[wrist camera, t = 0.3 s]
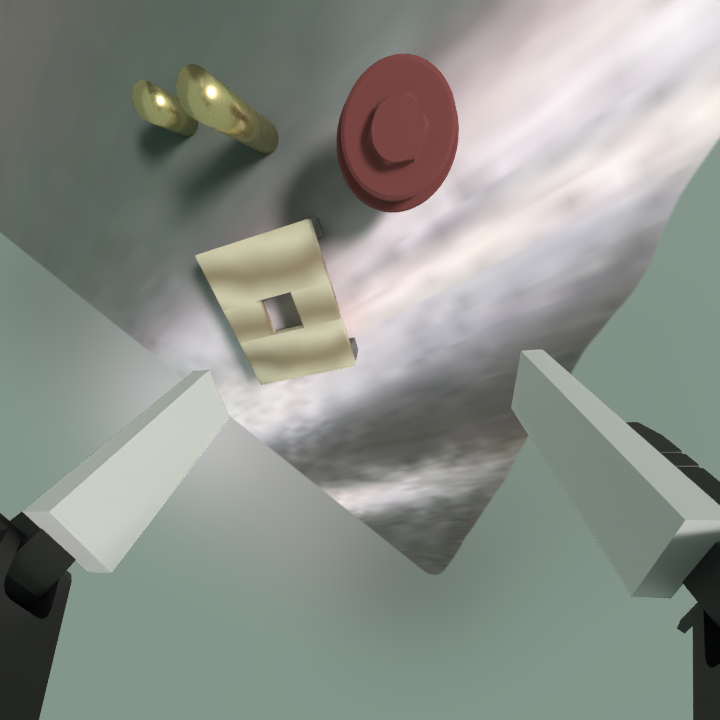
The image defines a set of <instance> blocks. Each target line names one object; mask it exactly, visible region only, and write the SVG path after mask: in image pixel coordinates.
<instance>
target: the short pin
mask: <svg viewBox="0 0 720 720" xmlns="http://www.w3.org/2000/svg"><path fill="white" fill-rule="evenodd" d="M132 98H133V103H134V106H135V108H136V110H137V112H138V113H139V114H140V116H141V117H142V118H143V119H145V120H146V121H148V122H150V123H153V124H155V125H158V126H160V127H163V128H165V129H168V130H170V131H173V132H175V133H178V134H181V135H183V136H186V137H189V136H192V135H193V134H195V132H196V130H197V126H198V121H197V120H195V119H193V118H192V117H190V116H189V115H188V114H187V113H186V112H185V110H184V109H183V107H182V106H181V104H180V101H179V99H178V98H177V97H175V96H174V95H172V94H170V93H168V92H167V91H165V90H163V89H161V88H159V87H158V86H156V85H154V84H152V83H151V82H149V81H145V80H141V81H138V82H137V83H136V84H135V85H134V88H133V92H132Z"/></svg>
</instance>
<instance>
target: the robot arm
mask: <svg viewBox="0 0 720 720" xmlns="http://www.w3.org/2000/svg"><path fill="white" fill-rule="evenodd" d="M511 408H512V410H513V412H514V413H515V415H516V416H517V418H518V419H519V421H520V423H521V424H522V426H523V427H524V429H525V430H526V432H527V434H528V435H529V437H530V438H531V440H532V441H533V443H534V444H535V446H536V448H537V449H538V451H539V452H540V454H541V455H542V457H543V459H544V460H545V462H546V463H547V465H548V466H549V468H550V470H551V471H552V473H553V474H554V476H555V477H556V479H557V481H558V482H559V484H560V485H561V487H562V488H563V490H564V492H565V493H566V495H567V496H568V498H569V499H570V501H571V502H572V504H573V506H574V507H575V509H576V510H577V512H578V514H579V515H580V517H581V518H582V520H583V521H584V523H585V525H586V526H587V528H588V529H589V531H590V532H591V534H592V536H593V537H594V539H595V540H596V542H597V543H598V545H599V546H600V548H601V550H602V551H603V552H604V554H605V556H606V557H607V559H608V561H609V562H610V564H611V565H612V567H613V568H614V570H615V571H616V573H617V575H618V576H619V578H620V579H621V581H622V583H623V584H624V586H625V587H626V589H627V590H628V592H629V594H630V595H631V596H634V597H654V598H655V597H656V598H672V596H673V595H674V594H675V593H676V592H677V591H678V589H679V588H680V587H681V586H682V585H683V584H684V585H685V586H686V588H687V589H688V590H689V591H690V593H691V594H692V595H693V596H694V597H695V599H696V600H697V601H698V603H697V604H695V606H694V607H693V608H692V609H691V610H690V611H689V612H688V613H687V614H686V615H685V616H684V617H683V618H682V619H681V620H680V623H679V625H678V628H677V629H679V630H680V631H682V632H683V633H686V632H687V631H688V629H690V628H691V627H692V626H693V717H694V718H693V720H720V482H719V481H718V480H717V479H716V478H714V477H713V476H712V475H711V474H710V473H708V472H707V471H706V470H705V469H703V468H699V466H698V464H697V463H696V462H695V461H693V460H692V459H691V458H690V457H688V456H687V455H686V454H682V451H681V450H680V449H679V448H677V447H676V446H675V445H674V444H672V443H671V442H670V441H669V440H667V439H666V438H665V437H664V436H662V435H661V434H659V433H657V432H655V431H653V430H651V429H649V428H648V427H646V426H644V425H642V424H640V423H638V422H629V423H625V422H624V421H623V420H622V419H621V418H620V417H619V416H617V415H616V414H615V413H614V412H613V411H612V410H611V409H609V408H608V407H607V406H606V405H605V404H604V403H603V402H601V401H600V400H599V399H598V398H597V397H596V396H595V395H594V394H592V393H591V392H590V391H589V390H588V389H587V388H586V387H584V386H583V385H582V384H581V383H580V382H579V381H578V380H577V379H575V378H574V377H573V376H572V375H571V374H570V373H569V372H567V371H566V370H565V369H564V368H563V367H562V366H561V365H559V364H558V363H557V362H556V361H555V360H554V359H553V358H551V357H550V356H549V355H548V354H547V353H546V352H545V351H544V350H528V351H521V355H520V361H519V366H518V372H517V378H516V383H515V389H514V395H513V401H512V406H511ZM228 420H229V415H228V413H227V411H226V408H225V406H224V404H223V401H222V399H221V397H220V394H219V392H218V390H217V387H216V385H215V383H214V380H213V378H212V376H211V373H210V371H209V370H203V371H193V372H192V373H191V374H189V375H188V376H187V377H186V378H185V379H183V380H182V381H181V382H180V383H179V384H177V385H176V386H175V387H174V388H172V389H171V390H170V391H169V392H168V393H166V394H165V395H164V396H163V397H161V398H160V399H159V400H158V401H156V402H155V403H154V404H153V405H152V406H150V407H149V408H148V409H147V410H146V411H144V412H143V413H142V414H141V415H139V416H138V417H137V418H136V419H134V420H133V421H132V422H131V423H130V424H128V425H127V426H126V427H125V428H123V429H122V430H121V431H120V432H119V433H117V434H116V435H115V436H114V437H113V438H111V439H110V440H109V441H108V442H106V443H105V444H104V445H103V446H102V447H100V448H99V449H98V450H96V451H95V452H94V453H93V454H92V455H90V456H89V457H88V458H87V459H86V460H84V461H83V462H82V463H81V464H79V465H78V466H77V467H76V468H74V469H73V470H72V471H71V472H70V473H69V474H67V475H66V476H65V477H63V478H62V479H61V480H60V481H59V482H57V483H56V484H55V485H54V486H53V487H51V488H50V489H49V490H48V491H46V492H45V493H44V494H43V495H41V496H40V497H39V498H38V499H37V500H35V501H34V502H33V503H32V504H30V505H29V506H28V507H27V508H26V509H24V510H23V511H22V512H21V513H20V514H18V515H17V516H16V517H14V518H13V519H12V520H11V521H9V520H8V519H6V518H5V517H4V516H3V515H2V514H1V513H0V720H39V717H40V712H41V708H42V704H43V700H44V695H45V691H46V687H47V683H48V679H49V674H50V670H51V666H52V662H53V658H54V653H55V649H56V645H57V641H58V636H59V632H60V628H61V624H62V619H63V615H64V611H65V607H66V603H67V598H68V594H69V590H70V586H71V574H70V573H69V572H68V571H67V569H68V568H69V567H70V566H71V565H72V563H73V562H74V561H75V560H76V561H77V562H78V563H79V564H80V565H81V566H82V567H83V568H84V569H86V570H87V571H88V572H104V573H112V571H113V570H114V569H115V567H116V566H117V565H118V563H119V562H120V561H121V560H122V558H123V557H124V556H125V554H126V553H127V551H128V550H129V549H130V548H131V547H132V545H133V544H134V542H135V541H136V540H137V539H138V537H139V536H140V535H141V533H142V532H143V531H144V529H145V528H146V527H147V526H148V524H149V523H150V522H151V520H152V519H153V518H154V516H155V515H156V514H157V513H158V511H159V510H160V509H161V507H162V506H163V505H164V503H165V502H166V501H167V500H168V498H169V497H170V496H171V494H172V493H173V492H174V490H175V489H176V487H177V486H178V485H179V484H180V483H181V481H182V480H183V479H184V477H185V476H186V475H187V473H188V472H189V471H190V469H191V468H192V467H193V465H194V464H195V463H196V462H197V460H198V459H199V458H200V456H201V455H202V454H203V452H204V451H205V450H206V449H207V447H208V446H209V444H210V443H211V442H212V441H213V439H214V438H215V437H216V435H217V434H218V433H219V431H220V430H221V429H222V428H223V426H224V425H225V424H226V422H227V421H228Z"/></svg>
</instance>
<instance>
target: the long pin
mask: <svg viewBox="0 0 720 720" xmlns="http://www.w3.org/2000/svg"><path fill="white" fill-rule="evenodd" d="M176 89H177V95H178V99H179V101H180V104H181V106H182V107H183V109H184V110H185V112H186V113H187V114H188V115H189V116H190V117H192V118H193V119H195V120H197V121H199V122H201V123H203V124H205V125H207V126H209V127H211V128H213V129H215V130H217V131H219V132H221V133H223V134H225V135H227V136H229V137H231V138H233V139H235V140H237V141H239V142H241V143H243V144H245V145H247V146H249V147H251V148H253V149H255V150H257V151H259V152H261V153H263V154H270V153H272V152H274V151H275V149H276V148H277V145H278V133H277V130H276V128H275V127H274V125H273V124H272V123H271V122H270V121H268V120H267V119H266V118H265V117H263V116H262V115H261V114H260V113H258V112H257V111H256V110H255V109H253V108H252V107H251V106H250V105H248V104H247V103H246V102H245V101H243V100H242V99H241V98H240V97H238V96H237V95H236V94H235V93H233V92H232V91H231V90H230V89H228V88H227V87H226V86H225V85H223V84H222V83H221V82H220V81H218V80H217V79H216V78H215V77H213V76H212V75H211V74H210V73H208V72H207V71H206V70H205V69H203V68H202V67H200V66H198V65H192V64H191V65H187V66H185V67H184V68H182V69H181V71H180V72H179V74H178V77H177V83H176Z"/></svg>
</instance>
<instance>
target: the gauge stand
mask: <svg viewBox="0 0 720 720" xmlns="http://www.w3.org/2000/svg"><path fill="white" fill-rule="evenodd" d="M322 236H323V234H322V230H321V227H320V224H319V220H318V219H305V220H302V221H299V222H296V223H293V224H290V225H287V226H284V227H281V228H278V229H275V230H272V231H269V232H266V233H263V234H259V235H256V236H253V237H250V238H247V239H244V240H241V241H238V242H235V243H232V244H229V245H226V246H223V247H220V248H217V249H213V250H210V251H207V252H204V253H201V254H198V255H195V257H196V259H197V261H198V263H199V265H200V266H201V268H202V270H203V272H204V274H205V276H206V278H207V280H208V282H209V284H210V286H211V288H212V290H213V292H214V294H215V296H216V298H217V300H218V302H219V304H220V306H221V308H222V310H223V312H224V313H225V315H226V317H227V319H228V321H229V323H230V325H231V327H232V329H233V331H234V333H235V335H236V337H237V339H238V341H239V343H240V345H241V347H242V349H243V351H244V353H245V355H246V357H247V358H248V360H249V362H250V364H251V366H252V368H253V370H254V372H255V374H256V376H257V378H258V380H259V382H260V384H261V385H263V384H268V383H272V382H277V381H282V380H287V379H292V378H297V377H302V376H307V375H312V374H317V373H322V372H327V371H332V370H337V369H342V368H347V367H352V366H355V362H356V357H357V352H358V348H357V344H356V341H355V338H350V339H349V338H348V335H347V332H346V328H345V325H344V322H343V319H342V316H341V313H340V309H339V306H338V303H337V300H336V297H335V294H334V291H333V287H332V284H331V281H330V278H329V275H328V272H327V268H326V265H325V262H324V259H323V256H322V253H321V250H320V246H319V243H318V240H317V238H319V237H322ZM289 292H291V295H292V297H293V300H294V303H295V305H296V308H297V310H298V313H299V316H300V318H301V321H302V323H303V325H299V326H295V327H291V328H287V329H282V330H278V331H275V329H274V326H273V324H272V322H271V320H270V317H269V315H268V313H267V310H266V308H265V306H264V304H263V301H262V300H263V299H267V298H271V297H274V296H278V295H282V294H285V293H289Z"/></svg>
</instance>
